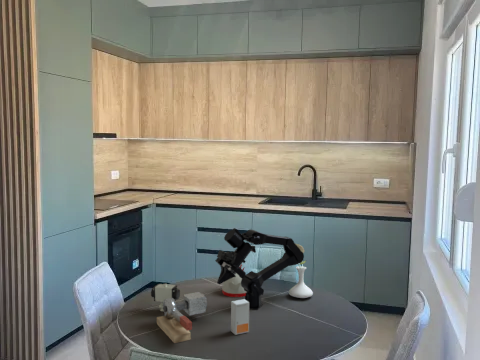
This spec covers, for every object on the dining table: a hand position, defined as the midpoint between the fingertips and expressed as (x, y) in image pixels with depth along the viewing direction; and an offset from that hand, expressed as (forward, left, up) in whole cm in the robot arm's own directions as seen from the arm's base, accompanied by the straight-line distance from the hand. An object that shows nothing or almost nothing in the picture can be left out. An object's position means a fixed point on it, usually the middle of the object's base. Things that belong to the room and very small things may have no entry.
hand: (218, 283), depth 189 cm
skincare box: (-15, +14, -13) cm, 24 cm away
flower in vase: (-27, -33, -13) cm, 45 cm away
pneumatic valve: (+23, +5, -13) cm, 27 cm away
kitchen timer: (+3, -28, -13) cm, 32 cm away
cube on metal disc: (+7, +8, -10) cm, 15 cm away
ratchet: (+6, +20, -10) cm, 23 cm away
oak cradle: (+9, +22, -13) cm, 27 cm away
